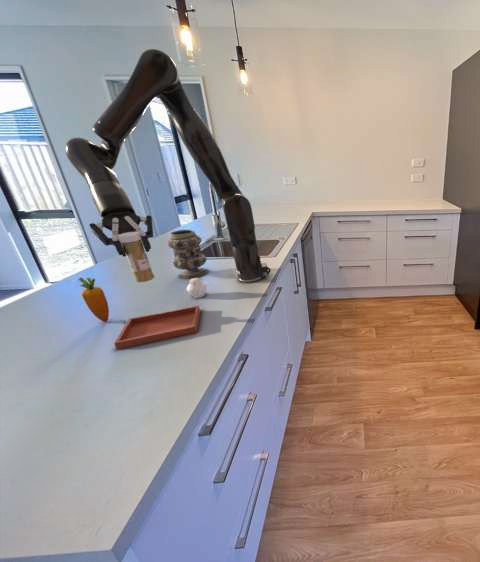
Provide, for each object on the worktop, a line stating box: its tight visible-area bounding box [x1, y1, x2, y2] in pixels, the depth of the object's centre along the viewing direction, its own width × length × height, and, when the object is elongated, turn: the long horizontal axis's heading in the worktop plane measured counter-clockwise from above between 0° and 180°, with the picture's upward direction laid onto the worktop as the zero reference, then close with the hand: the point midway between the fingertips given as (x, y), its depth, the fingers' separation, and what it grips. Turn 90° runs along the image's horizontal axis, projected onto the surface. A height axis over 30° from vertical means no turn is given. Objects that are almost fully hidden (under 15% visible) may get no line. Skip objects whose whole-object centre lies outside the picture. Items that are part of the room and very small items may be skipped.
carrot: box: [77, 277, 110, 323], centre depth 89 cm, size 5×5×15 cm
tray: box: [114, 305, 201, 350], centre depth 87 cm, size 19×14×2 cm
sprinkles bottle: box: [118, 232, 155, 283], centre depth 82 cm, size 5×5×14 cm
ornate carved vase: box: [166, 229, 208, 279], centre depth 122 cm, size 12×12×18 cm
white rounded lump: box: [186, 277, 208, 299], centre depth 105 cm, size 6×6×7 cm
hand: (136, 252), depth 80 cm, fingers closed on sprinkles bottle, 4 cm apart
